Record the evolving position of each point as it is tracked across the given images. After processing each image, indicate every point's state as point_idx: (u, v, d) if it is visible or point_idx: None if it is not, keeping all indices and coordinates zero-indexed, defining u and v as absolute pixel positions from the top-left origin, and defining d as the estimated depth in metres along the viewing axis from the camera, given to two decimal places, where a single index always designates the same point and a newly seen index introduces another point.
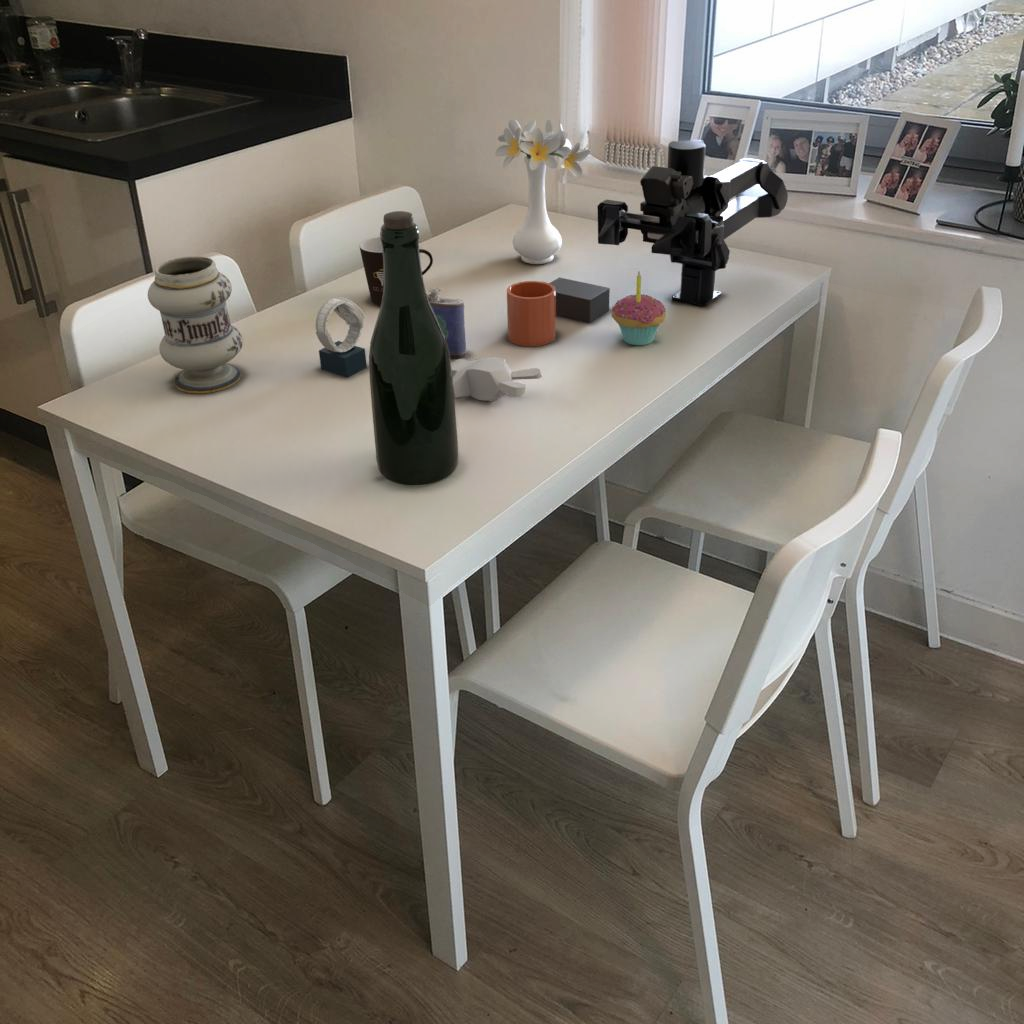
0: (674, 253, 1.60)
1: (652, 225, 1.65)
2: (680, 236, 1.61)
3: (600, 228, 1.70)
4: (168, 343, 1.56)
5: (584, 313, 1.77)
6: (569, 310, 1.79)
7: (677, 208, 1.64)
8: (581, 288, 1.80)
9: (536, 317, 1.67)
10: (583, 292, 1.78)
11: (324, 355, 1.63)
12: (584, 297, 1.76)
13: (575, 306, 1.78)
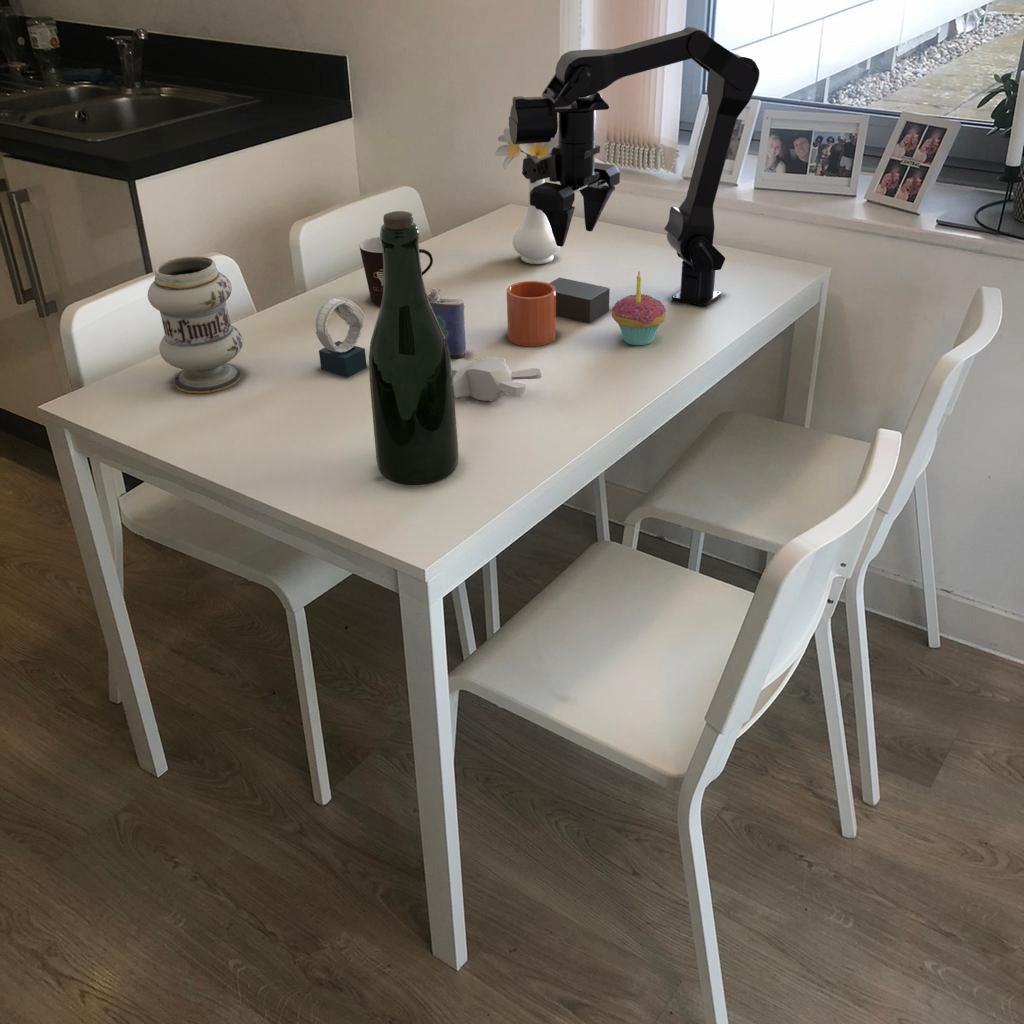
0: (564, 224, 1.68)
1: (573, 187, 1.71)
2: None
3: None
4: (168, 343, 1.56)
5: (584, 313, 1.77)
6: (569, 310, 1.79)
7: (551, 173, 1.69)
8: (581, 288, 1.80)
9: (536, 317, 1.67)
10: (583, 292, 1.78)
11: (324, 355, 1.63)
12: (584, 297, 1.76)
13: (575, 306, 1.78)
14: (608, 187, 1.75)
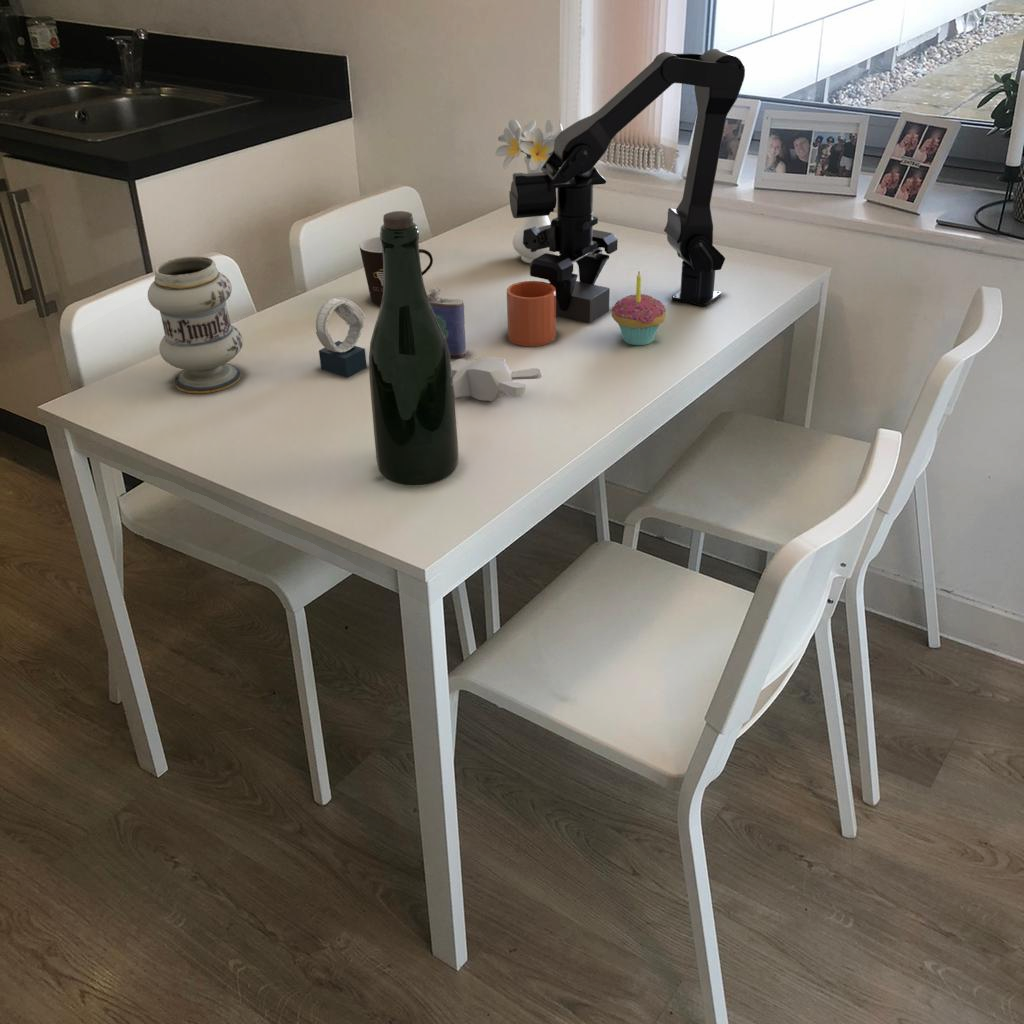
0: (568, 291, 1.75)
1: None
2: None
3: None
4: (168, 343, 1.56)
5: (584, 313, 1.77)
6: (569, 310, 1.79)
7: (551, 244, 1.75)
8: (581, 288, 1.80)
9: (536, 317, 1.67)
10: (583, 292, 1.78)
11: (324, 355, 1.63)
12: (584, 297, 1.76)
13: (575, 306, 1.78)
14: (602, 256, 1.81)
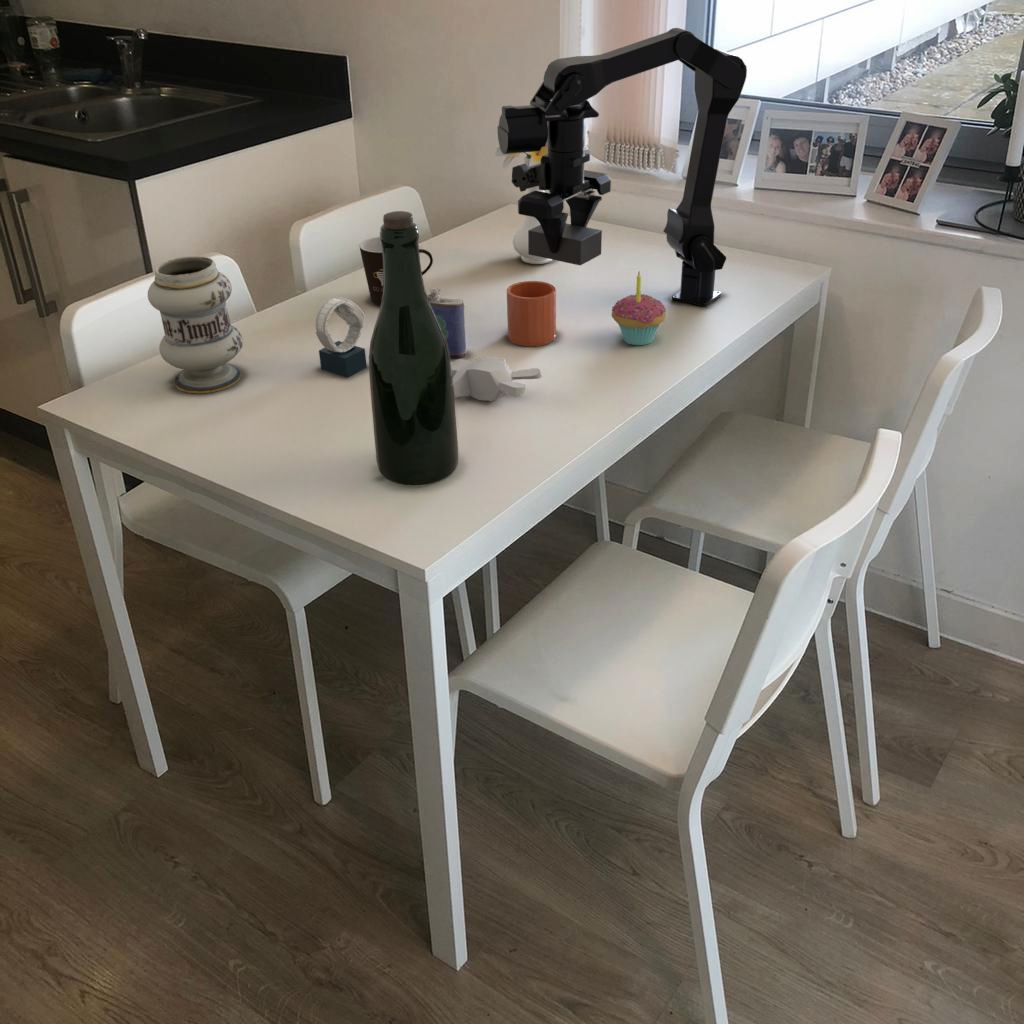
0: (558, 231, 1.68)
1: (563, 196, 1.70)
2: None
3: None
4: (168, 343, 1.56)
5: (574, 255, 1.70)
6: (559, 252, 1.71)
7: (541, 182, 1.68)
8: (572, 230, 1.73)
9: (536, 317, 1.67)
10: (574, 234, 1.71)
11: (324, 355, 1.63)
12: (575, 238, 1.69)
13: (566, 248, 1.70)
14: (595, 197, 1.73)
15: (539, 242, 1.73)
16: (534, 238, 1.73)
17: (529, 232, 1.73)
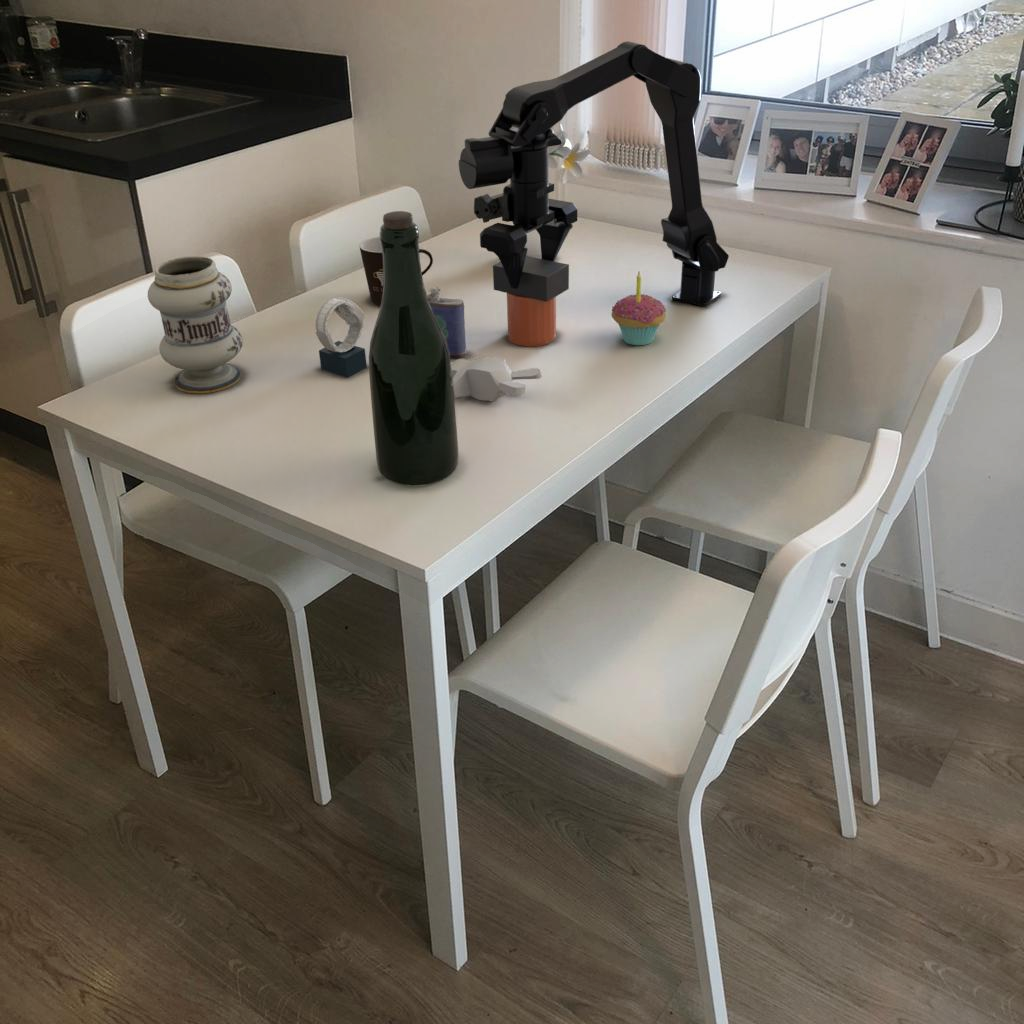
0: (517, 266, 1.61)
1: None
2: None
3: None
4: (168, 343, 1.56)
5: (540, 291, 1.64)
6: (524, 288, 1.66)
7: (504, 213, 1.62)
8: (538, 264, 1.67)
9: (536, 317, 1.67)
10: (540, 269, 1.65)
11: (324, 355, 1.63)
12: (540, 274, 1.63)
13: (531, 284, 1.64)
14: (565, 225, 1.68)
15: (504, 277, 1.67)
16: (499, 273, 1.67)
17: (494, 267, 1.67)
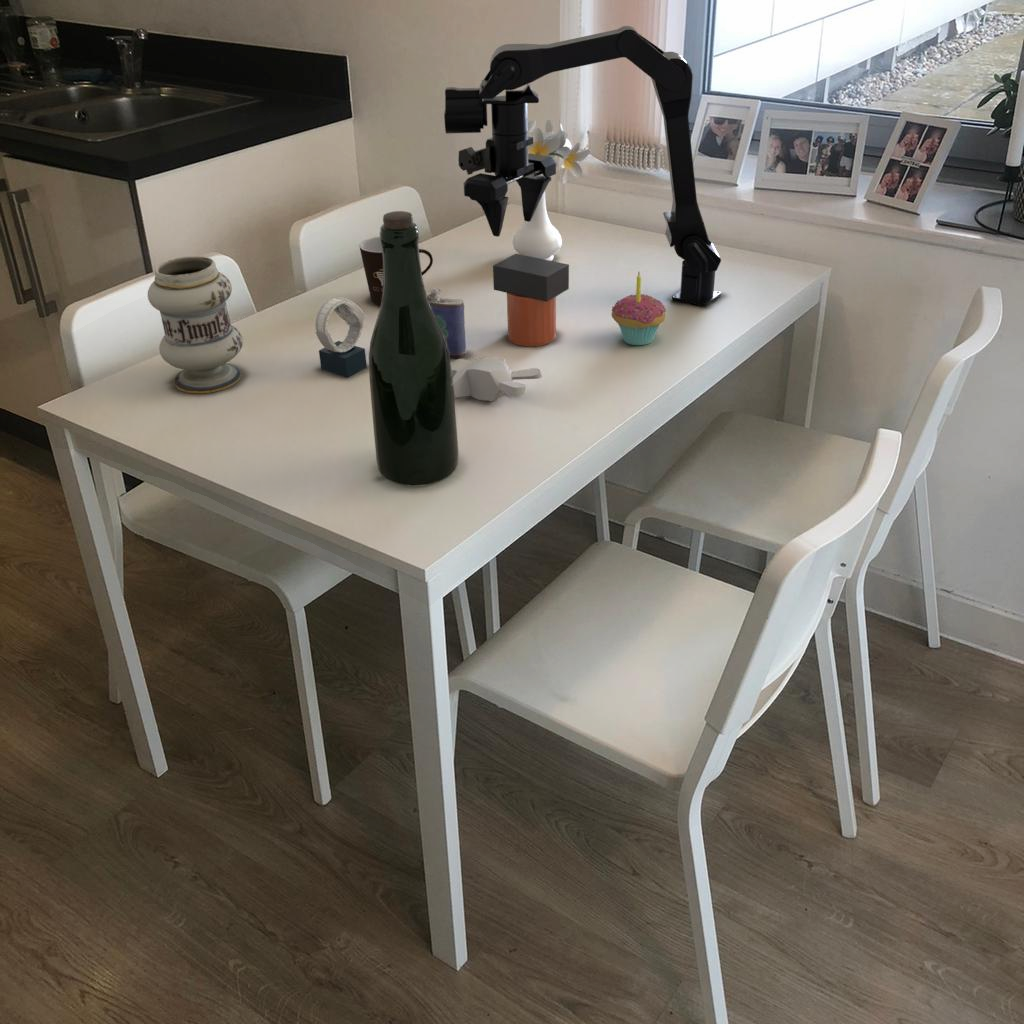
0: (499, 214, 1.72)
1: None
2: None
3: None
4: (168, 343, 1.56)
5: (540, 291, 1.64)
6: (524, 288, 1.66)
7: (486, 164, 1.73)
8: (538, 264, 1.67)
9: (536, 317, 1.67)
10: (540, 269, 1.65)
11: (324, 355, 1.63)
12: (540, 274, 1.63)
13: (531, 284, 1.64)
14: (544, 178, 1.79)
15: (504, 277, 1.67)
16: (499, 273, 1.67)
17: (494, 267, 1.67)
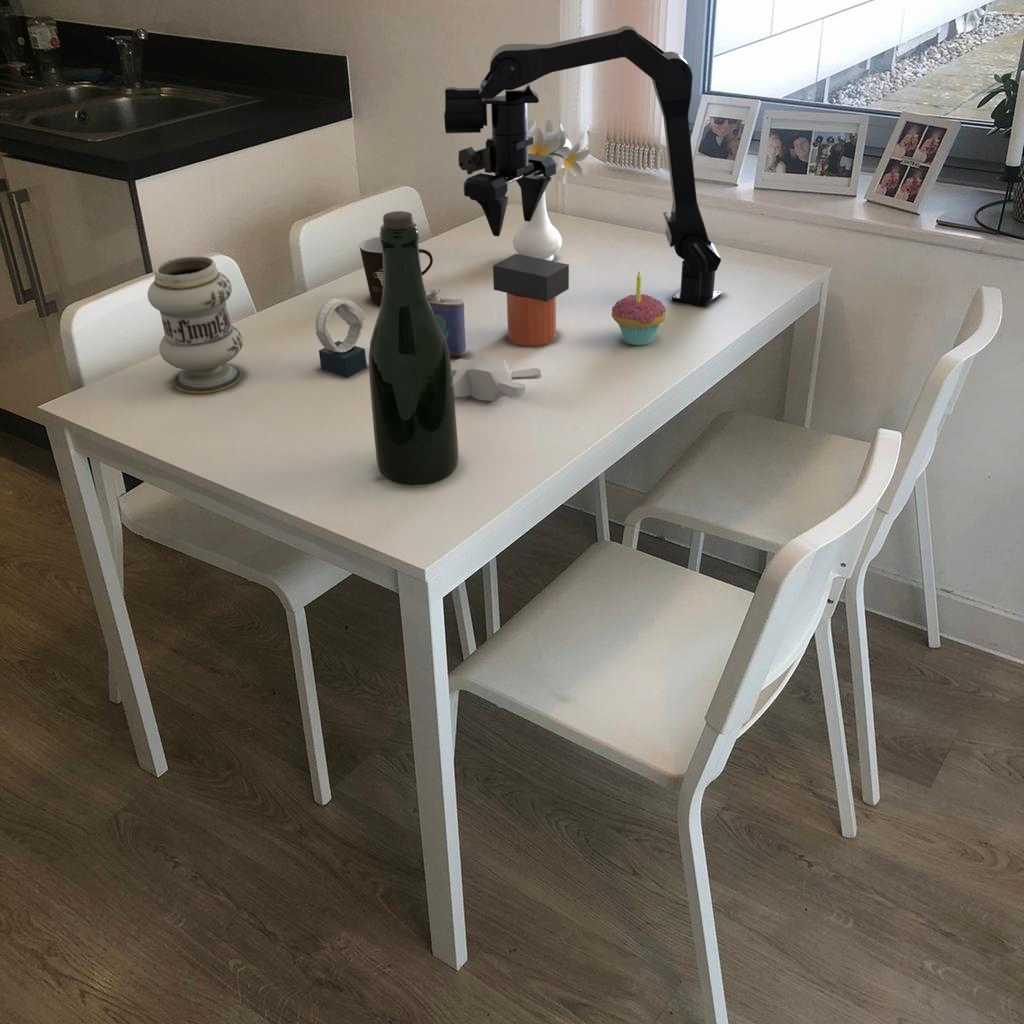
0: (499, 214, 1.72)
1: None
2: None
3: None
4: (168, 343, 1.56)
5: (540, 291, 1.64)
6: (524, 288, 1.66)
7: (486, 164, 1.73)
8: (538, 264, 1.67)
9: (536, 317, 1.67)
10: (540, 269, 1.65)
11: (324, 355, 1.63)
12: (540, 274, 1.63)
13: (531, 284, 1.64)
14: (544, 178, 1.79)
15: (504, 277, 1.67)
16: (499, 273, 1.67)
17: (494, 267, 1.67)
